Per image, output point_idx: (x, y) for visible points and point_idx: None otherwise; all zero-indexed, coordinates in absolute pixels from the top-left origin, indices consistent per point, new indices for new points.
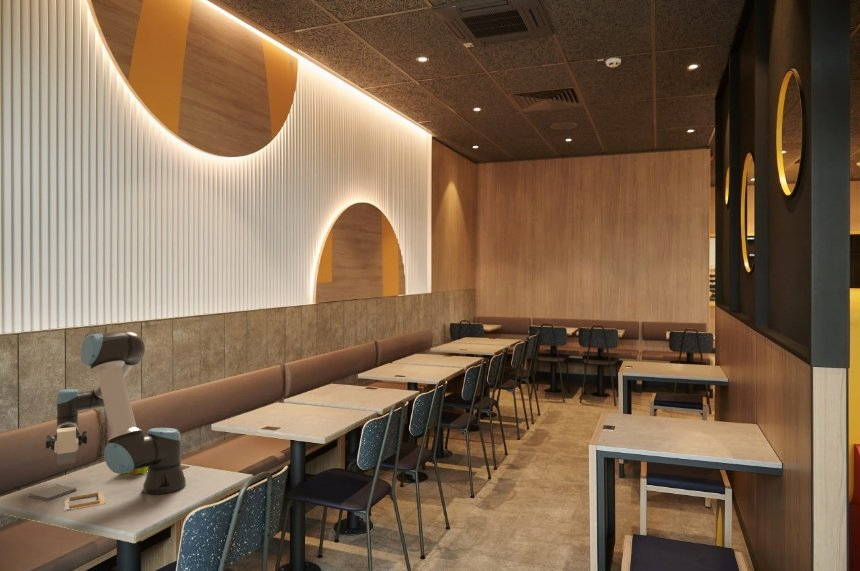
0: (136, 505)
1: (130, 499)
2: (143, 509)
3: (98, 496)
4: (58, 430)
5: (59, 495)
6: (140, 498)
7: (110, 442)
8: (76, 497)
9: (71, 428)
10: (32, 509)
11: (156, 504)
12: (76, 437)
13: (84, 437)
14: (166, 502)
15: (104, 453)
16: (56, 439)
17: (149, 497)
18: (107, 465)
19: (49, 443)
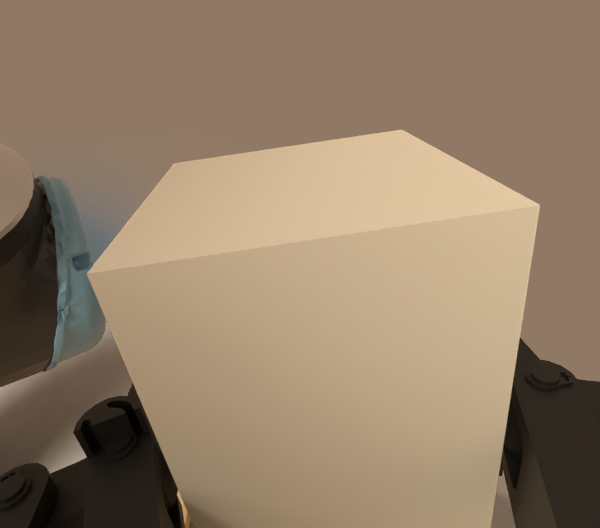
0: (94, 393)
1: (78, 461)
2: (96, 359)
3: (185, 516)
4: (430, 159)
5: None
6: (43, 457)
7: (40, 191)
8: None
9: (213, 206)
10: (496, 501)
11: (44, 382)
12: (159, 515)
13: (40, 468)
14: (11, 388)
15: (88, 267)
16: (565, 483)
17: (12, 455)
18: (105, 321)
19: (588, 384)
